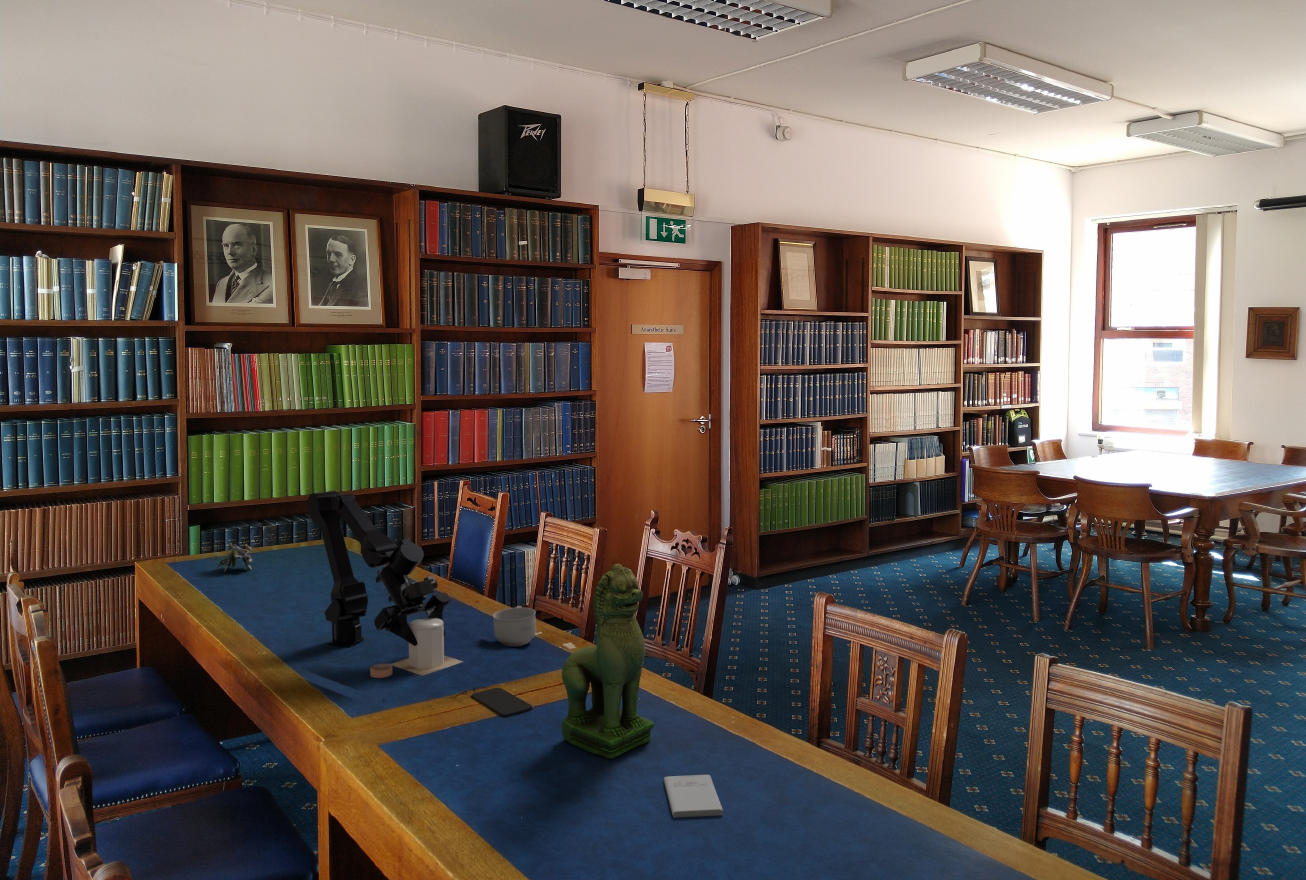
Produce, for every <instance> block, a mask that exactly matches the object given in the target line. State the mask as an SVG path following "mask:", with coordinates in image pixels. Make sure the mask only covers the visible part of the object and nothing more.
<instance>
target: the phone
mask: <svg viewBox="0 0 1306 880" xmlns="http://www.w3.org/2000/svg"><path fill="white" fill-rule="evenodd" d="M470 696H471V698H472V699H474V700H475V701H477V702H478V703H480V704H481V705H483V706H485V707H486V708H488V709H489V710H491V711H493V712H494V713H495V714H497V715H499V716H501V717H504V718H507V717H512V716H515V715H519V714H522V713H523V714H524V713H526V712H530V711H532V710H533V708H534V706H533V705H532V704H531V703H528V702H527V701H524V700H523V699H521V698H520V697H518V696H516V695H514V694H512V693H510V692H509V691H507V690H506V689H504V688H502V687H494V688H489V689H486V690H481V691H477V692H474V693H471V695H470Z"/></svg>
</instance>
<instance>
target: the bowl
mask: <svg viewBox="0 0 1306 880" xmlns="http://www.w3.org/2000/svg"><path fill="white" fill-rule="evenodd" d="M390 664H391V663H378V664H374V665H371V667H370V668H369V669H370V670H369V672H370V674H369V675H370V677H371V678H375V679H383V678H388V677H390V676H392V675H393V666H392V665H390Z"/></svg>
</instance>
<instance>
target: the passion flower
mask: <svg viewBox="0 0 1306 880" xmlns="http://www.w3.org/2000/svg"><path fill="white" fill-rule="evenodd" d="M245 547H246V549H243V548H241V547H239V546H238V545H237V544H232V543H231V542H229V543H228V546H227V548H228V549H229V550H230V552H228V556H227V557H224V558H220V557H218V555H217V554H214V561H217V559H218V560H220V562H219V563H218V565H217V567H216V568H219V567H221V565H222V566H224V571H223V573H226V571H227V569H228V568H230V567H231V568H232V569H233V568H234V567H236V563H237V559H240V560H241V559H242V561H243V563H244V565H245V567H246V569H247V570H248V571H252V570H253V569H252V566H251V565H252V564H253V561H254V559H253V558H252V557H251V555H250V554H249V553H248V551H251V553H254V549H253V548H252V547H251V546H249V544H247V543H245Z"/></svg>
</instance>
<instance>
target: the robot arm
mask: <svg viewBox="0 0 1306 880" xmlns="http://www.w3.org/2000/svg"><path fill="white" fill-rule="evenodd" d="M305 503H306V504H305V507H306V510H307V511H308V513H309V517H310V520H311V521H312V522H313V523H314V524H315V525H317V526H318V527H319V529H320V532H321V536H322V541H323V543H324V548H325V551H326V556H327V560H328V564H329V567H330V573H331V576H332V580H333V585H332V589H331V592H330V600H331V603H330V604H329V605H328V606H327V608H326V609H325V610H324V617H325V621H327V622H330V623H331V635H332V636H331V640H330V641H328V642H327V643H328V645H333V646H340V647H341V646H343V647H351V646H353V645H355V644H357V643H359V642H362V641H363V640H365V636H362V624H361V618H362V617H366V614H367V610H368V604H369V594H368V592H367V588H366V584H365V582H364V581H363V580H362V581H359V580H358V579H357V578H356V577H355V576H354V571H353V567H352V564H351V559H350V556H349V553H348V552H349V551H348V548H347V545H346V540H345V537H344V532H343V529H342V523H341V521H342V519H343V521H344V522H345V523H346V525H347V527H348V528H349V530H350V531H351V532H352V534H353V535H354V536H355V538H356V540H357V541H358V543H359V544H360V556H362V559H363V560H364V562H365V564H366V565H367V566H368V567H369V568H371V569H375V568H376V569H377V568H379V567H382V569H381V570H377V571H376V572H377V573H376V574H377V575H376V577H375V583H382V584H383V585H384V587H385V590H386V591H387V593H388V594H389V597H388V598H387V600H388V602H389V603H391V602H392V603H394V604H392V605H390V606H387V607H383V608H382V609H381V610H380V612H378V614H377V615H376V617H375V618H374V622H373V623H374V626H375V628H376V630H377V631H378V632H379V631H383V630H385V632H387V633H388V632H391V634H394V635H396V636H398V637H400V638H401V639H403V640H405V641H406V642H407V643H408V644H409V643H410V644H412V645H413V646H416V645H417V644H418V643H417V640H416V638H415V636H414V634H413V632H412V630H411V629H410V627H409V622H408V617H410V616H413V615H416V614H420V613H423V612H424V613H425V614H426V615H428V616H427V617H426V618H437V619H441V620H442V621H443V622H444V618H443V612H444V610H445V609H446V608H447V606H448V605H449V604H450V603H451V601H452V599H451V597H450V596H449V594H448V593H446V592H440V593H436V594H433V593H435V589H437V588H438V587H439V584H438V581H437V579H436V578H435V576H434V575H430V576H426V577H423V580H422V581H421V580H420V581H418V582H416V581H415V580H413V581H412V580H411V579H410V578H409V575H411V574H412V573H413V572H415V571H414V570H415V569H416V568H417V566H418V565H419V564H420V562H421V561H422V560H423V558H424V556H425V553H424V550H423V548H422V547H420V546H419V545H418V544H416V543H414V542H411V541H410V540H409V539H408V538H405V539H401V540H400V541H399V542H398V544H396V543H395V542H394V541H393V540H392V539H391V538H390V536H389V535H387V534H383V533H382V532H380V531H378V529H377V528H376V526H375V525H374V524H373V523H372V522H371V520H370V519H369V517H368V516H367V514H366V513H365V511H364V510H363V508H362V507H361V505H359V504H358V502H357V497H356V496H355V495H354V494H353V493H350V492H349V493H340V492H337V491H336V490H327V491H322V492H321V491H320V492H314V493H310V495H309V497H308V498H307V499H306V501H305ZM430 594H433V595H431V596H430V598H429V599H428V600H427V602H423V601H425V600H426V599H427V598H428V597H427V595H430ZM445 636H446V629H444V637H445Z"/></svg>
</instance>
